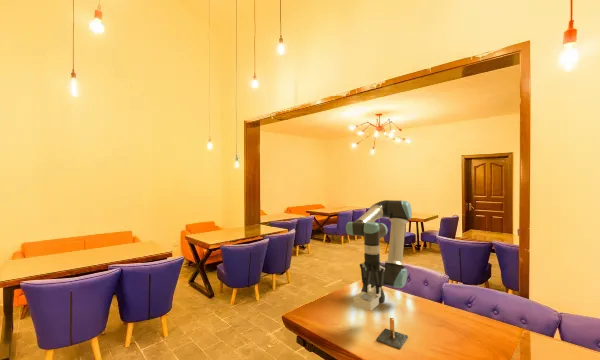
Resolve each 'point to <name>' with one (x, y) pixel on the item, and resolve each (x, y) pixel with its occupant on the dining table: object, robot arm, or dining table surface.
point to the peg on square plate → (392, 336)
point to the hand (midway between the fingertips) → (372, 298)
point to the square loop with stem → (367, 299)
